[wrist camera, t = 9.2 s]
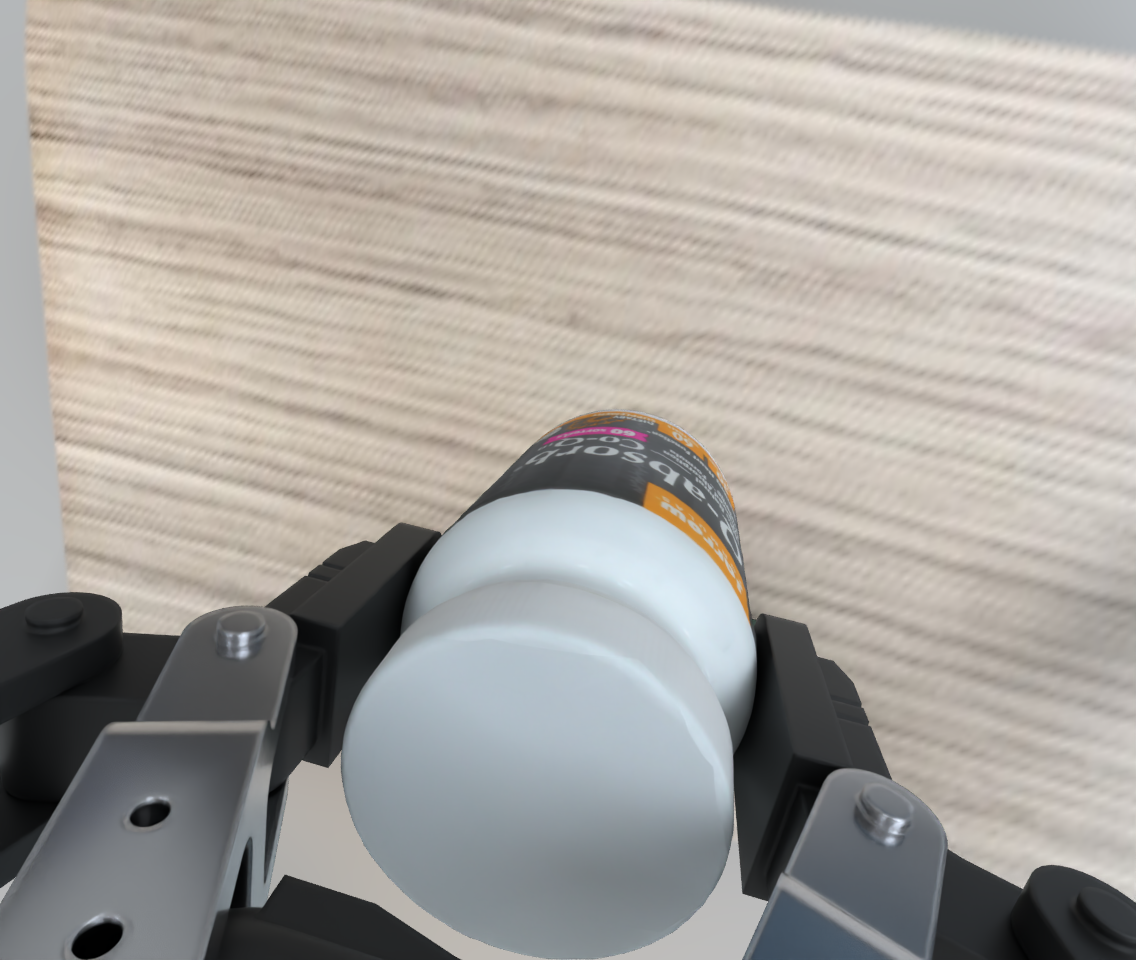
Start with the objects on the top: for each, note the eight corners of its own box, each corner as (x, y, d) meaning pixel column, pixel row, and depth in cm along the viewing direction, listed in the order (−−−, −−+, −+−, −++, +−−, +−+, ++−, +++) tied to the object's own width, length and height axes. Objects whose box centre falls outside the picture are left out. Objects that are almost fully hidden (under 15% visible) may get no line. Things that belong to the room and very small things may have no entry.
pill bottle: (763, 437, 16) (872, 672, 6) (697, 640, 17) (706, 1058, 8) (534, 379, 16) (319, 516, 7) (493, 582, 18) (281, 910, 9)
